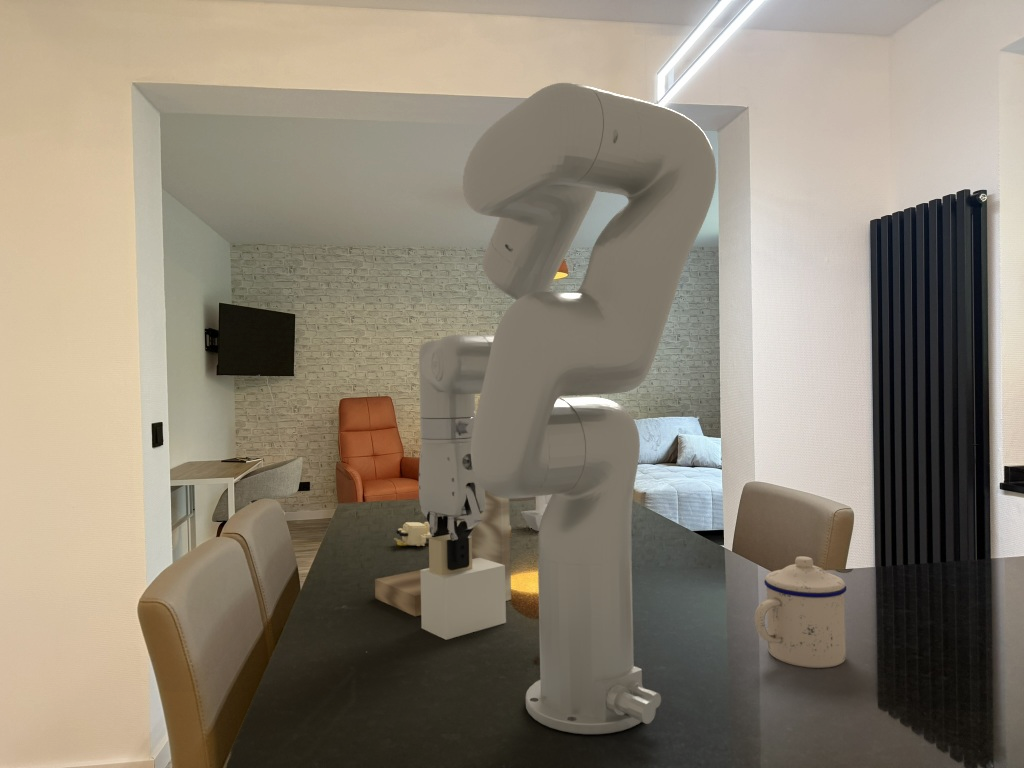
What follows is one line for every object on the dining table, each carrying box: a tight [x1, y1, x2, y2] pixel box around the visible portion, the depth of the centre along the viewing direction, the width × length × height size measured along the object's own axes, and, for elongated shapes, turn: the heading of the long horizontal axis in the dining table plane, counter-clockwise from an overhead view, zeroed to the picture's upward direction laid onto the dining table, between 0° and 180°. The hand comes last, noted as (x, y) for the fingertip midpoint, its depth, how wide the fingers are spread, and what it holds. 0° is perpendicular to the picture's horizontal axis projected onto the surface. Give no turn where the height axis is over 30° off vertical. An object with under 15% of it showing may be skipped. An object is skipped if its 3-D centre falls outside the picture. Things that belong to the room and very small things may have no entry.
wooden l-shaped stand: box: [374, 491, 512, 617], centre depth 113 cm, size 18×15×22 cm
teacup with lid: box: [754, 556, 847, 669], centre depth 85 cm, size 12×9×12 cm
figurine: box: [520, 495, 552, 532], centre depth 165 cm, size 7×9×15 cm
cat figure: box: [393, 521, 513, 547], centre depth 153 cm, size 10×9×25 cm
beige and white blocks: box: [420, 534, 507, 640], centre depth 99 cm, size 6×10×12 cm, turn 129°
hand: (450, 564), depth 98 cm, fingers closed on beige and white blocks, 3 cm apart
